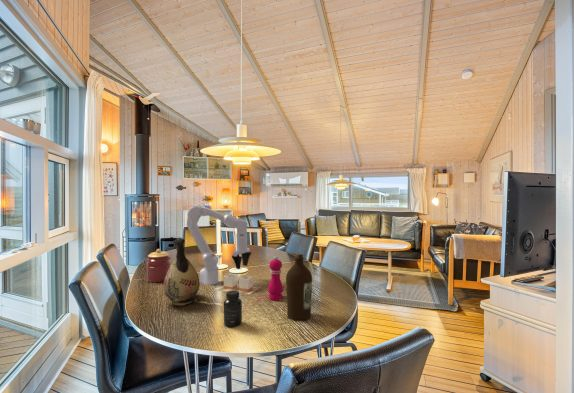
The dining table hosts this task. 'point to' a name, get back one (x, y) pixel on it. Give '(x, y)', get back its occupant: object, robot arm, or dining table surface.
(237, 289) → the pin board
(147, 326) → the dining table surface
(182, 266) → the ceramic jug
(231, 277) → the seated sleeve
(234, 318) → the supplement bottle
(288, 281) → the olive oil
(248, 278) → the sleeve
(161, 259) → the canister
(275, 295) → the pepper mill
